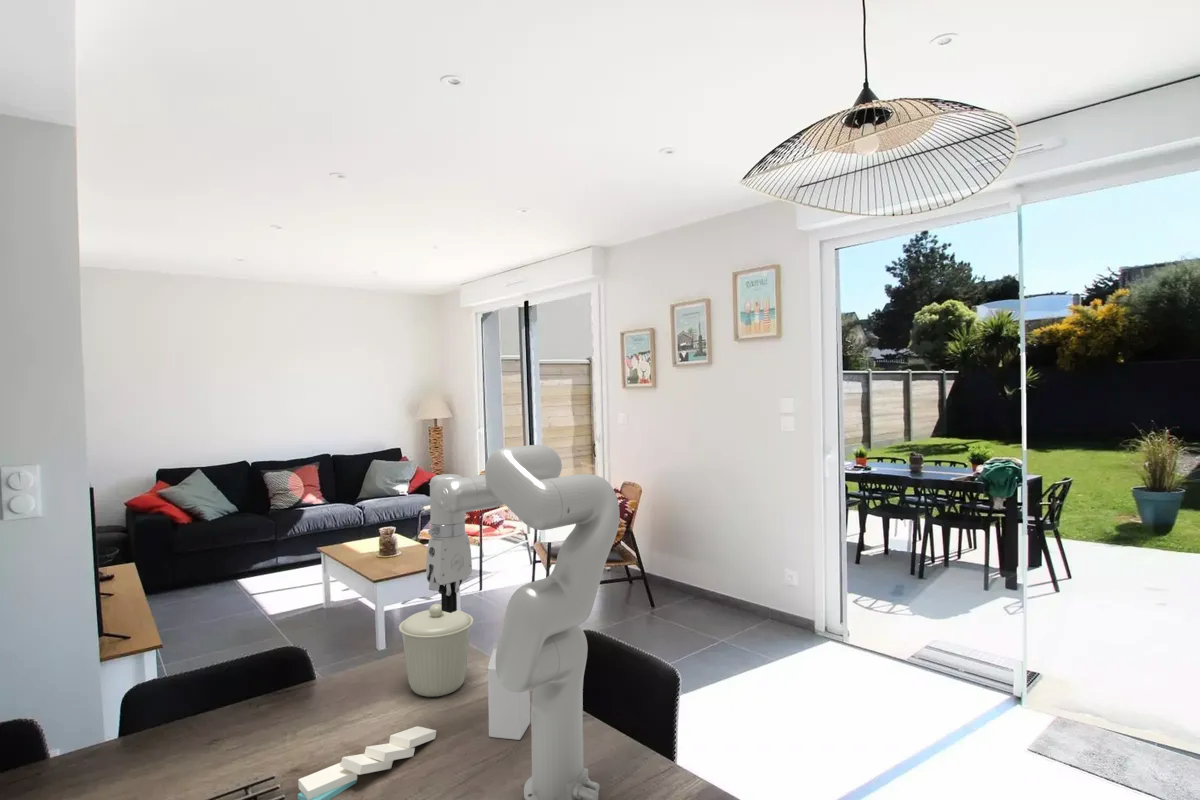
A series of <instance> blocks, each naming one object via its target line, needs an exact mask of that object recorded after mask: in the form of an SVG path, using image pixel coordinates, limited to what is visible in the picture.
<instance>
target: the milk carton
mask: <svg viewBox="0 0 1200 800" xmlns="http://www.w3.org/2000/svg"><path fill="white" fill-rule="evenodd" d="M497 646H498V643H495V642H494V643H493V647H492V648H493V649H492V651H491V656H490V659H489V663H488V667H487V688H488V689H487V692H488V693H487V696H488V697H487V699H488V704H487V705H488V706H487V707H488V737H490V738H497V739H505V740H506V739H507V740H518V741H520V740H521V739H522V737H523V736H524V734H525V732H526V730H527V729H528V727H529V726H530V724H531V693H530V692H531V691H530V690H531V689H530V690H528V691H525V692H519V693H517V692H511V691H509V690H507V689H506V688H505V687H504V686H503V685H502V684H501V682H500V681H499V678H498V676H497V672H496V651H497Z"/></svg>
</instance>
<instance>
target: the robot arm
mask: <svg viewBox="0 0 1200 800" xmlns="http://www.w3.org/2000/svg"><path fill="white" fill-rule="evenodd" d="M562 465H563V464H562V460H561V458H560V456H559V454H558V453H557V452H556V451H555V449H552V447H550V446H547V445H541V444H532V445H531V444H530V445H519V446H509V447H502V448H499V449H497V450H495V451H494V452H493V453H491V454H490V456H489V457H488V459H487V460H486V463H485V467H484V474H479V475H478V474H477V475H471V476H462V475H460V474H455V473H447V474H446V473H444V474H443V473H442V474H437V475H434V476H433V477H431V478H430V481H429V501H430V502H429V504H430V505H429V506H430V509H429V510H430V528H429V529H428V531H427V533H428V535H429V536H430V538H428V539H429V540H428V545H427V550H426V551H427V552H426V565H425V566H426V570H425V571H426V580H427V582H428V583H429V584H428V590H429V591H433V592H435V591H437V592H438V593H439V594H440V596H441V597H440V598H441V599H440V601H441V603H440V604H441V605H442V611H444V612H448V613H452V612H455V611H457V610H458V605H457V604H458V600H457V596H458V595H457V594H458V593H459V591H460V586H461V585H462V583H463V582H465V581H466V580H467V579H468V577H470V576H471V574H472V571H473V561H472V549H471V543H470V538H469V535H468V533H467V532H466V518H465V515H466V513H472V512H475V511H481V510H488V509H493V508H498V507H501V506H506V508H508V509H509V510H510V511H511V512H512V513H513V514H514V515H515V516H516V517H517V518H518V519H519V520H520V521H521V522H522V523H523V524H525V525H526V526H528V527H530V528H531V529H534V530H536V531H538V530H539V531H546V530H548V531H549V530H553V529H558V528H561V527H567V526H570V525H574V528H573V529H572V530H571V532H570V533H569V534H568V536H566V538H565V540H564V541H563V543H562V544H561V546H560V548H559V551H558V553H557V556H556V561H555V564H554V567H553V569H552V572H550V574H549V575H548V576H546V577H544V578H542V579H538V580H535V581H531V582H528V583H525V584H524V585H521V586H520V587H519V588H517V589H516V590H515V591H514V592H513V594H512V595H511V596H510V599H509V600H508V604H507V607H506V610H505V614H504V617H503V623H502V626H501V630H500V634H499V639H498V641H497V644H498V646H497V651H496V672H497V676H498V678H499V681H500V682H501V684H502V685H503V686H504V687H505V688H506V689H507V690H509V691H511V692H517V693H519V692H525V691H528V690H532V694H531V698H530V724H531V725H530V726H531V727H530V729H531V730H530V731H531V735H530V736H531V741H530V743H531V776H529V778H528V779H527V780H526V781H525V783H524V786H523V797H524V800H599V796H600V795H599V792H600V791H599V790H600V788H601V785H600V783H598V782H595V781H592V780H591V779H590V778H589V768H587V767H584V727H583V726H584V725H583V724H584V721H583V718H584V717H583V716H584V715H583V713H584V711H583V710H584V708H583V707H584V705H583V702H584V700H583V699H584V698H583V695H584V694H583V693H584V690H583V689H584V676H585V671H586V665H587V661H588V660H587V659H588V650H589V648H588V640H587V636H586V634H585V632H584V630H583V629H582V627H581V626H580V625H582V624H583V623H584V622H586V621H587V620H588V619H589V617H590V615H591V613H592V611H593V607H594V604H595V600H596V597H597V594H598V590H599V587H600V583H601V581H602V580H601V579H602V577H603V572H604V569H605V566H606V563H607V560H608V557H609V555H610V552H611V549H612V547H613V545H614V542H615V540H616V536H617V534H618V530H619V525H620V516H621V515H620V512H621V511H620V504H619V501H618V497H617V494H616V491H615V489H614V488H613V486H612V485H611V484H610V482H609V481H608V480H607V479H605V478H603V477H601V476H599V475H597V474H589V473H588V474H587V473H581V474H573V475H566V476H561V472H562Z"/></svg>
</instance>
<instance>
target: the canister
mask: <svg viewBox="0 0 1200 800" xmlns="http://www.w3.org/2000/svg"><path fill="white" fill-rule="evenodd" d="M473 624H474V618H473V616H472V615H470V614H469V613H466V612H464V611H463V610H459V609H457V611H455V612H452V613H448V612H444V611H442V604H441V603H433V604H432V605H430V606H429V608H428V609H426V610H422V611H419V612H416V613H413V614H411V615H410V616H408V617H407V618H406V619H404V620H402V621H401V622H400V623H399V625H398V630H399V632H400V633H401V634H402V635H401V636H402V644H403V652H404V660H405V666H406V672H407V673H406V674H407V679H408V680H407V681H408V684H409V687H410V688H411V690H412V691H413V692H414V693H415V694H416V695H419V696H423V697H428V698H432V697H433V698H435V697H441V696H446V695H450V694H452V693H454V692H455V691H457V690H458V689H460V687H461V686H463V683H464V681H465V679H466V674H467V666H468V657H469V646H470V636H471V626H472V625H473Z"/></svg>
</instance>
